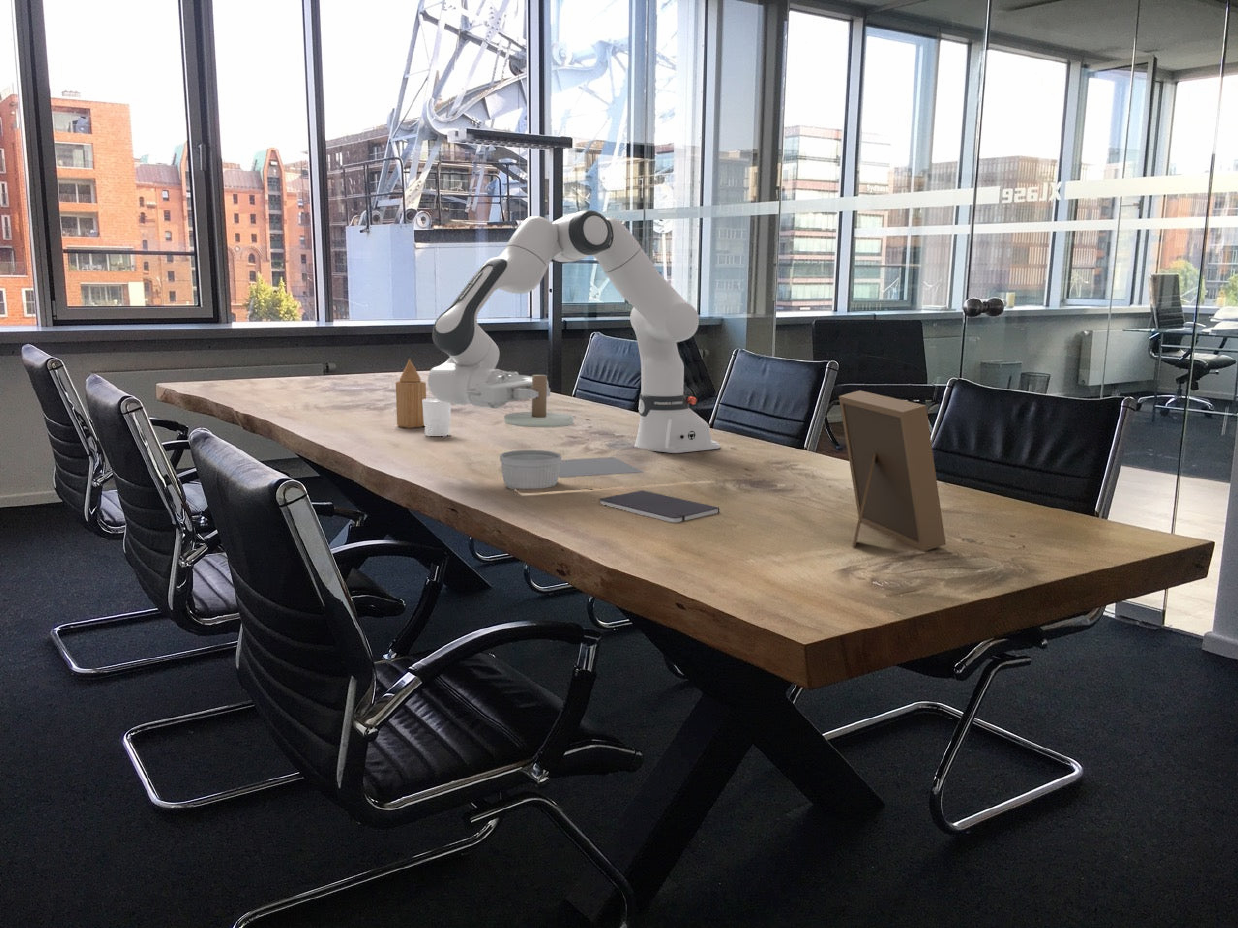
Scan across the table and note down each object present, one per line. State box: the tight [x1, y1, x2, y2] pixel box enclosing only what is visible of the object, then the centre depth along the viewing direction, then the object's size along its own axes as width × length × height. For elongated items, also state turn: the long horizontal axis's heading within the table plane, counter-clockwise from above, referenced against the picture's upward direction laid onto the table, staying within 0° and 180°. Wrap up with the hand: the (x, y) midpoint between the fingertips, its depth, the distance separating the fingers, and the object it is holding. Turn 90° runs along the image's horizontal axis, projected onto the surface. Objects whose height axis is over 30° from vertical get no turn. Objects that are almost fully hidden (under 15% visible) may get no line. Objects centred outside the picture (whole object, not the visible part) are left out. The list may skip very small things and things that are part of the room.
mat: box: [558, 456, 644, 478], centre depth 245 cm, size 20×20×1 cm
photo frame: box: [838, 389, 946, 552], centre depth 184 cm, size 15×22×25 cm
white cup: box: [422, 397, 452, 437], centre depth 291 cm, size 8×8×10 cm
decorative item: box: [395, 358, 427, 429], centre depth 305 cm, size 7×7×20 cm
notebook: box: [599, 489, 720, 523], centre depth 206 cm, size 13×2×21 cm
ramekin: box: [499, 449, 562, 491], centre depth 225 cm, size 13×13×7 cm
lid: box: [503, 374, 574, 428], centre depth 226 cm, size 15×15×10 cm
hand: (542, 393), depth 225 cm, fingers closed on lid, 3 cm apart
